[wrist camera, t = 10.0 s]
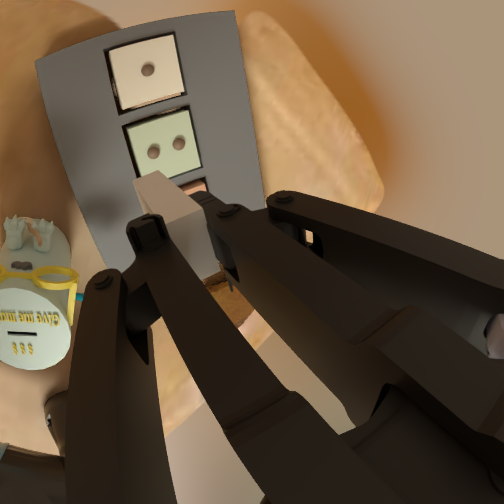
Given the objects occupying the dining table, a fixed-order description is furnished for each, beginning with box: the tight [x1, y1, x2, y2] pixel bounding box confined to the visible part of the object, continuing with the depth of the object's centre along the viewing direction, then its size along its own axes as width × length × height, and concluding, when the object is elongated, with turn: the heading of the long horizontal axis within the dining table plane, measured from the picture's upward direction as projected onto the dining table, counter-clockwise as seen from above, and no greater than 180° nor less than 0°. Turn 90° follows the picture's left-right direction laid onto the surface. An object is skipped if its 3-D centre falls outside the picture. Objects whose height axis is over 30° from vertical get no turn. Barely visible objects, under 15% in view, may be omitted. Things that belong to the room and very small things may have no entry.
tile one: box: [108, 35, 184, 110], centre depth 23 cm, size 6×6×3 cm
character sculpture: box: [0, 214, 84, 370], centre depth 22 cm, size 20×12×13 cm, turn 70°
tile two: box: [126, 109, 201, 178], centre depth 28 cm, size 6×6×3 cm
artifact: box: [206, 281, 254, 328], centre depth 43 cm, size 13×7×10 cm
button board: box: [35, 10, 265, 273], centre depth 29 cm, size 20×26×2 cm
